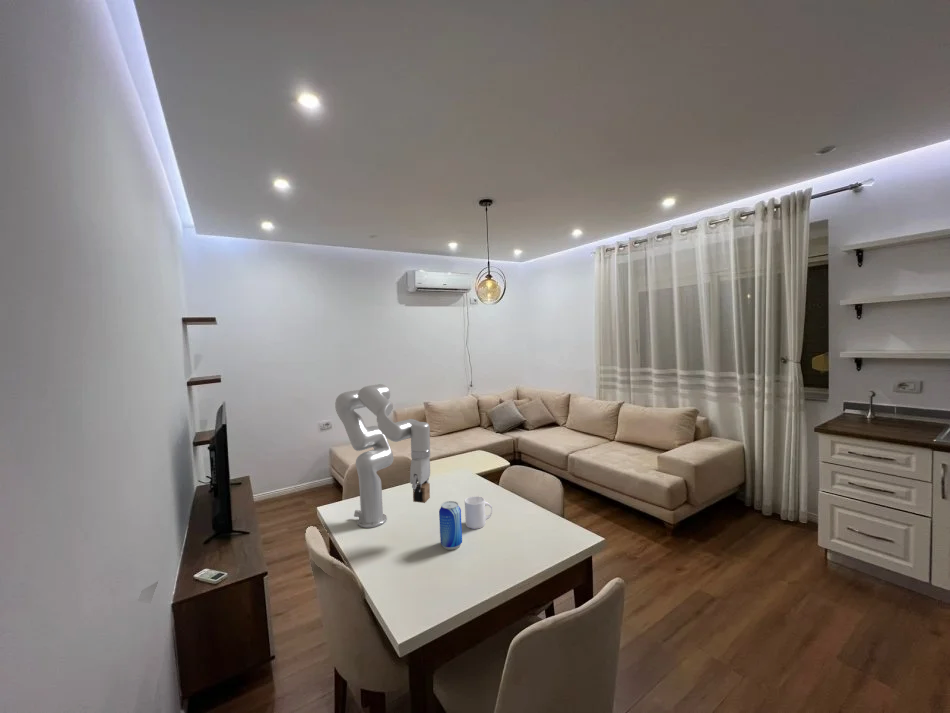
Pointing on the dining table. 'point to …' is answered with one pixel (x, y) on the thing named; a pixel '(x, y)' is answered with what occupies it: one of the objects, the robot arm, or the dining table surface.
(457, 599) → the dining table surface
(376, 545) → the dining table surface
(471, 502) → the mug
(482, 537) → the dining table surface
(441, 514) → the beer can
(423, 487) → the walnut block
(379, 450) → the robot arm
